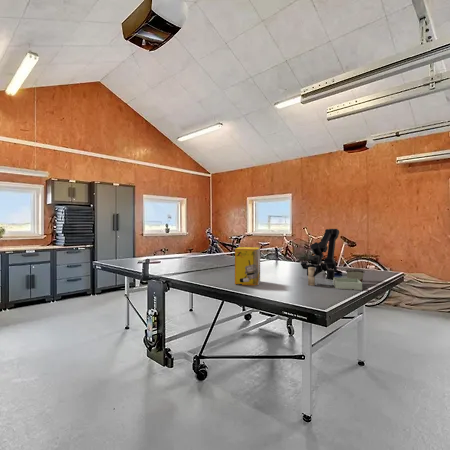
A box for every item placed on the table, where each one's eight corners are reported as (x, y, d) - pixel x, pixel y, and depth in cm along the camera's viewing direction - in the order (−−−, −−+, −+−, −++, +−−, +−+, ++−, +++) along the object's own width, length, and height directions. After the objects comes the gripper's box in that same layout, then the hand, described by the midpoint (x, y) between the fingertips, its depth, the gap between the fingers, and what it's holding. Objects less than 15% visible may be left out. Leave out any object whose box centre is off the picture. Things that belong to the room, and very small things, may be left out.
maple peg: (308, 284, 209) (308, 267, 209) (314, 284, 208) (314, 267, 208) (308, 285, 205) (308, 268, 205) (314, 285, 204) (314, 268, 204)
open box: (333, 283, 211) (333, 277, 211) (357, 285, 206) (357, 278, 206) (335, 288, 195) (335, 281, 195) (362, 290, 191) (362, 283, 191)
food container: (363, 282, 215) (363, 269, 215) (364, 284, 209) (364, 270, 209) (344, 281, 218) (344, 268, 218) (345, 283, 212) (345, 269, 212)
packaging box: (258, 285, 204) (258, 249, 204) (234, 284, 208) (234, 248, 208) (260, 281, 220) (260, 247, 220) (238, 280, 223) (238, 247, 223)
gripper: (301, 250, 216) (294, 267, 207) (326, 251, 203) (320, 269, 195) (306, 260, 222) (299, 277, 213) (331, 262, 209) (325, 280, 201)
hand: (310, 275), depth 206 cm, fingers closed on maple peg, 4 cm apart
